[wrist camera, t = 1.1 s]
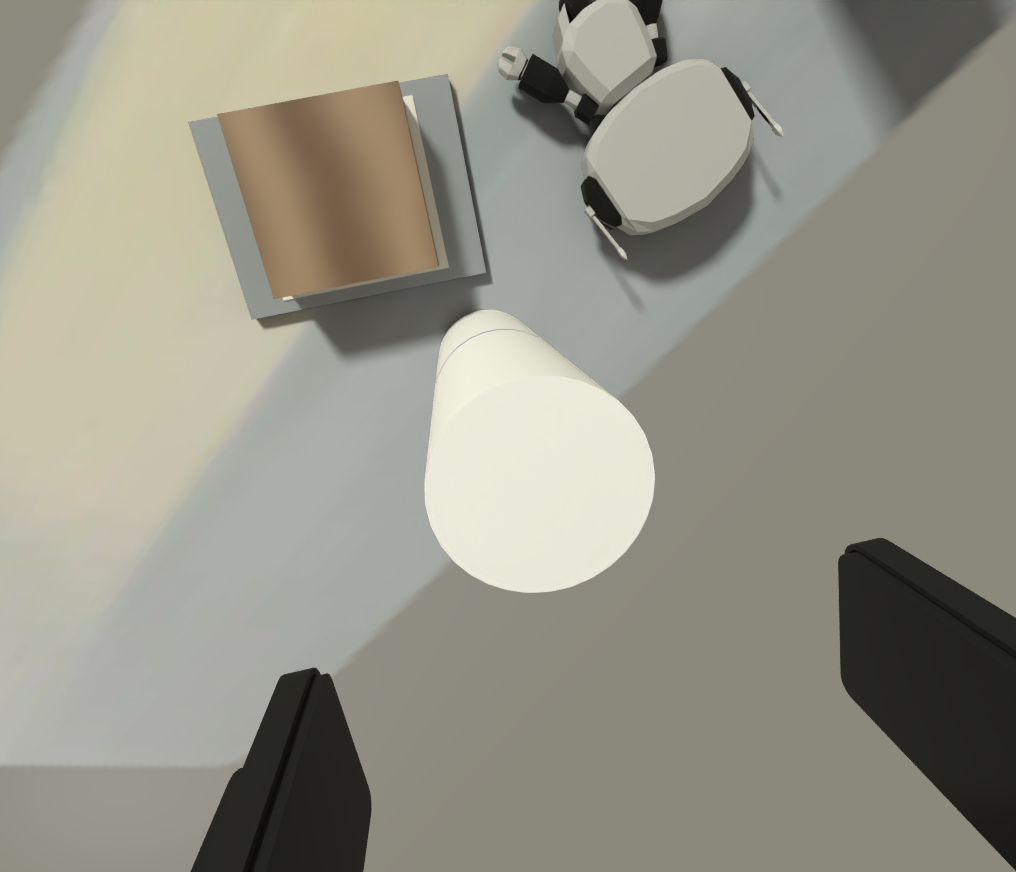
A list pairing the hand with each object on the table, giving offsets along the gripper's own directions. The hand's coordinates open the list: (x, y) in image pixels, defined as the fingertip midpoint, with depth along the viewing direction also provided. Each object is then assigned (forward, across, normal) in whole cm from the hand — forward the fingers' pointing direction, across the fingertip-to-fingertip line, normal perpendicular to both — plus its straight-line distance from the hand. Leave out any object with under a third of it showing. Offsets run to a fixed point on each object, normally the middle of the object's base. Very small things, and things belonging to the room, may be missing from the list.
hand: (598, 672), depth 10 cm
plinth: (+32, +6, -13) cm, 35 cm away
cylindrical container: (+33, 0, -1) cm, 33 cm away
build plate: (+33, +6, -13) cm, 36 cm away
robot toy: (+33, -12, -15) cm, 38 cm away
